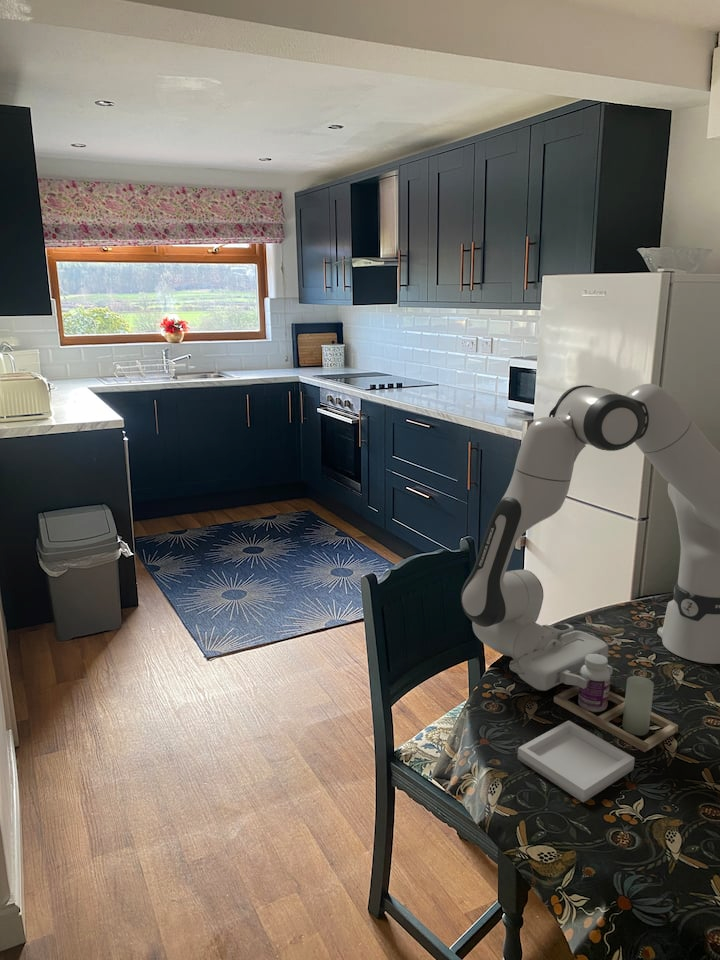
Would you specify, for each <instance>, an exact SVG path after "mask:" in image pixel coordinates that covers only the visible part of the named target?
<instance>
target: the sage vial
mask: <svg viewBox="0 0 720 960" xmlns="http://www.w3.org/2000/svg"><path fill="white" fill-rule="evenodd" d="M654 688H655V683H654V682H653V680H651V679H649V678H647V677H644V676H642V675H641V676H640V675H633V676H629V677H627V678H626V685H625V695H624V696H625V697H624V698H625V704H624V713H623V714H622V715H623V716H622V725H621V726H622V730H624V731H626V732H628V733H629V734H631V735H633V736H645V735H648V733H649V732H650V724H651V723H650V722H651V721H650V716H651V712H652V704H653V698H654Z"/></svg>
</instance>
